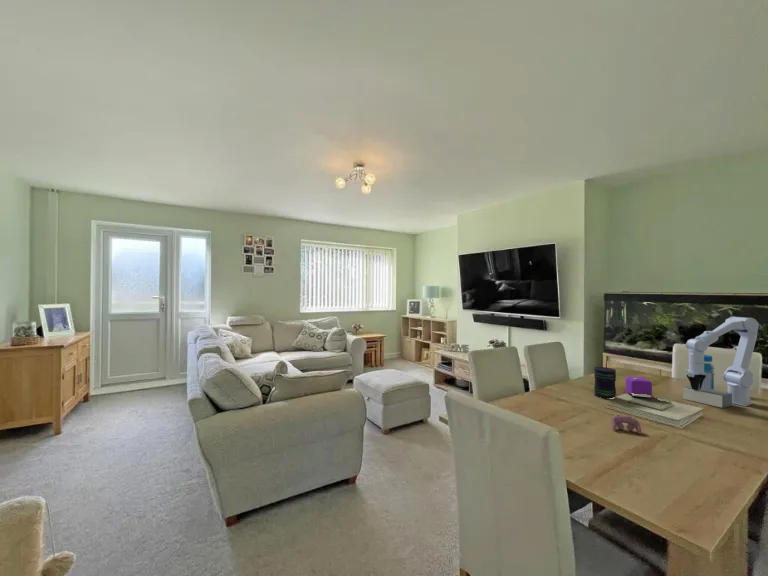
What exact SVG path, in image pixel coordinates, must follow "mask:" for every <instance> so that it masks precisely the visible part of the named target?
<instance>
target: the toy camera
mask: <svg viewBox="0 0 768 576" xmlns="http://www.w3.org/2000/svg"><path fill="white" fill-rule="evenodd" d="M625 392H626V393H627V394H628V393H634V394H647V395H651V396H653V383H652V381H650V380H649V379H647V378H645V377H642V376H641V377H639V376H626V378H625Z"/></svg>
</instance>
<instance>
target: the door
mask: <svg viewBox="0 0 768 576" xmlns="http://www.w3.org/2000/svg"><path fill="white" fill-rule="evenodd" d="M682 399H683V400H687V401H692V402H695V403H696V402H697V403H699V404H704V405H709V406H712V407H713V406H714V407H718V408H722V409H725V408H724V396H721V395H716V394H711V393H706V392H702V391H700V383H699V388H698V390H694V389H693V390H692V389H687V388H683V387H682Z"/></svg>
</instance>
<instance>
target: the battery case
mask: <svg viewBox="0 0 768 576" xmlns="http://www.w3.org/2000/svg"><path fill="white" fill-rule="evenodd" d="M683 388H687V389H692V387H691V384H689V385H686V386H683V387H682V389H683ZM692 390H693V389H692ZM700 391H702V392H706V393H711V394H716V395H721V396H724V408H723V409H725V408H728V407H731V406H733V403H732V393H728V391H722V390H718V389H715V388H714V389H709V388H704V387H701V389H700Z"/></svg>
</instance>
